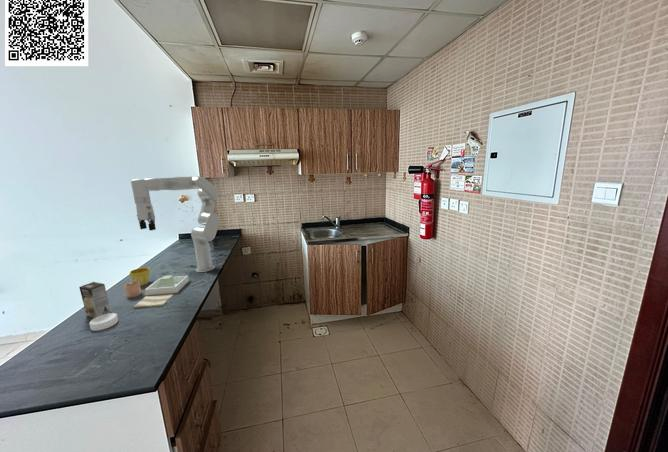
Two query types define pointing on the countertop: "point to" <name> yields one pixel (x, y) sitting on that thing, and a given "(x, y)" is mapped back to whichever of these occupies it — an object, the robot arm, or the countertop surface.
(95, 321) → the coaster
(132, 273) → the plant pot
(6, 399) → the countertop surface
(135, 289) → the terracotta cup
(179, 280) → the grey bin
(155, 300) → the pad
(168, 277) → the sage block
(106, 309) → the coffee box
